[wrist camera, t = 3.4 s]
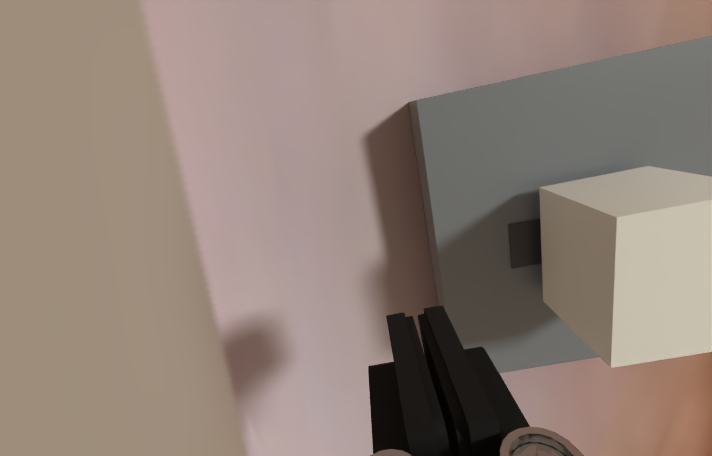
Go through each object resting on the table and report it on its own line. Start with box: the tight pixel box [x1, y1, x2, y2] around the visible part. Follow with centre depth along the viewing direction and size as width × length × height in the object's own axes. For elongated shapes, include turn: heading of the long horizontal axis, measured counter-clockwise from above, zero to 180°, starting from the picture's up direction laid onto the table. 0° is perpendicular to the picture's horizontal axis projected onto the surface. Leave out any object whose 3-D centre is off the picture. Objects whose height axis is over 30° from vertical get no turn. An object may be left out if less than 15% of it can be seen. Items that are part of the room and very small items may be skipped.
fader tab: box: [539, 166, 712, 368], centre depth 12 cm, size 5×4×4 cm
